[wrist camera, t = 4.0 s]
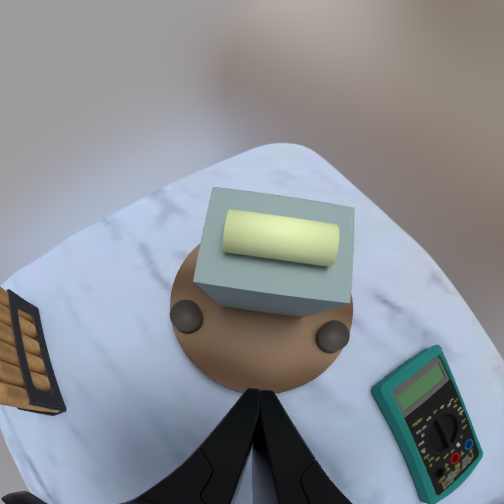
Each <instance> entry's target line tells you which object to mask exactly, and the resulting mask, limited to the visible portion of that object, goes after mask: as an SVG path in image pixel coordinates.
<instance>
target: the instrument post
mask: <svg viewBox="0 0 504 504" xmlns="http://www.w3.org/2000/svg"><path fill="white" fill-rule="evenodd" d="M353 250H354V208H353V207H347V206H342V205H336V204H331V203H325V202H319V201H313V200H306V199H300V198H294V197H287V196H280V195H273V194H266V193H258V192H251V191H243V190H234V189H226V188H217V187H213V188H212V193H211V197H210V201H209V206H208V210H207V215H206V220H205V224H204V229H203V234H202V239H201V243H200V248H199V253H198V258H197V263H196V269H195V274H194V279H193V282H194V283H195V284H196V285H197V286H198V287H200V288H201V289H202V290H203V291H204V292H205V293H206V294H208V295H209V296H210V297H211V298H212V299H213V300H214V301H216V302H217V303H218V304H219V305H220V306H224V307H231V308H237V309H244V310H251V311H258V312H265V313H273V314H280V315H288V316H296V317H307V316H310V315H313V314H317V313H320V312H323V311H327V310H330V309H333V308H336V307H340V306H343V305H346V304H349V303H350V299H351V286H352V271H353Z"/></svg>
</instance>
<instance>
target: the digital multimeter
mask: <svg viewBox="0 0 504 504" xmlns="http://www.w3.org/2000/svg"><path fill="white" fill-rule="evenodd" d="M372 394H373V396H374V398H375V400H376V402H377V403H378V405H379V407H380V409H381V411H382V413H383V414H384V416H385V418H386V420H387V422H388V424H389V425H390V427H391V429H392V431H393V433H394V435H395V437H396V440H397V442H398V444H399V446H400V448H401V450H402V452H403V454H404V457H405V459H406V461H407V464H408V467H409V469H410V472H411V474H412V477H413V480H414V482H415V485H416V488H417V491H418V495H419V498H420V501H422V502H424V503H427V504H436V503H437V502H439V501H440V500H442V499H443V498H445V497H447V496H448V495H449V494H451V493H452V492H453V491H454V490H456V489H457V488H458V487H459V486H460V485H461V484H462V483H463V482H464V481H465V480H466V479H467V478H468V476H469V475H470V474H471V473H472V471H473V470H474V469H475V467H476V466H477V464H478V463H479V461H480V460H481V458H482V456H483V452H482V449H481V446H480V444H479V441H478V439H477V436H476V434H475V431H474V428H473V426H472V423H471V420H470V418H469V415H468V413H467V410H466V407H465V405H464V402H463V400H462V397H461V395H460V392H459V390H458V387H457V385H456V383H455V380H454V377H453V375H452V372H451V370H450V368H449V365H448V363H447V360H446V358H445V356H444V354H443V351H442V349H441V347H440V346H439V345H434V346H432V347H430V348H428V349H425V350H424V351H422V352H421V353H419V354H417V355H416V356H414V357H413V358H411V359H410V360H408V361H407V362H405V363H404V364H402V365H401V366H400V367H398V368H397V369H395V370H394V371H393V372H391V373H390V374H389V375H388V376H386V377H385V378H384V379H382V380H381V381H380V382H379V383H377V384H376V385H375V386H374V387H373V388H372ZM449 411H450V412H449ZM407 425H408V426H407ZM408 427H409V428H408ZM411 434H412V435H411ZM412 436H413V437H412ZM414 441H415V442H414ZM415 443H416V444H415ZM417 448H418V449H417ZM418 450H419V451H418ZM434 452H435V453H434ZM420 455H421V456H420ZM421 457H422V458H421ZM423 462H424V463H423ZM425 467H426V468H425ZM429 477H430V478H429ZM431 482H432V483H431ZM433 487H434V488H433Z"/></svg>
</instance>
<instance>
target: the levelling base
mask: <svg viewBox="0 0 504 504" xmlns="http://www.w3.org/2000/svg"><path fill="white" fill-rule="evenodd" d="M199 248H200V244H199V245H198V246H197V247H196V248H195V249H194V250H193V251H192V252H191V253H190V254H189V255H188V256H187V258H186V259H185V261H184V262H183V264H182V265H181V267H180V269H179V271H178V273H177V275H176V278H175V281H174V284H173V288H172V293H171V303H170V310H171V311H170V319H171V322H172V324H173V328H174V331H175V334H176V337H177V339H178V342H179V343H180V345H181V347H182V349H183V350H184V352H185V353H186V355H187V356H188V357H189V359H190V360H191V361H192V362H193V363H194V364H195V365H196V366H197V367H198V368H199V369H200V370H201V371H202V372H203V373H204V374H205V375H207V376H208V377H209V378H211V379H212V380H214V381H215V382H217V383H219V384H220V385H222V386H224V387H226V388H229V389H232V390H235V391H238V392H242V393H244V392H245V391H246V390H247V389H248V388H255V389H260V391H261V390H272V391H274V393H280V392H285V391H288V390H291V389H294V388H297V387H299V386H302V385H304V384H306V383H308V382H310V381H311V380H313V379H315V378H316V377H318V376H319V375H320V374H322V373H323V372H324V371H325V370H326V369H327V368H328V367H329V366H330V365H331V364H332V363H333V362H334V361H335V359H336V358H337V357H338V355H339V354H340V353H341V351H342V349H343V348H344V347H345V346H346V345H347V343H348V341H349V337H350V334H349V333H350V329H351V324H352V317H353V303H352V295H351V299H350V303H349V304H346V305H343V306H340V307H336V308H333V309H330V310H327V311H323V312H320V313H317V314H313V315H310V316H307V317H296V316H288V315H280V314H273V313H265V312H258V311H251V310H244V309H237V308H231V307H224V306H220V305H219V304H218V303H217V302H216V301H214V300H213V299H212V298H211V297H210V296H209V295H208V294H206V293H205V292H204V291H203V290H202V289H201V288H200V287H198V286H197V285H196V284H195V283H194V282H193V279H194V274H195V269H196V263H197V258H198V253H199Z"/></svg>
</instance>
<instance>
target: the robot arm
mask: <svg viewBox="0 0 504 504" xmlns="http://www.w3.org/2000/svg"><path fill="white" fill-rule="evenodd" d="M251 447H252V483H253V504H352V503H351V502H350V501H349V500H348V499H347V498H346V497H345V496H344V495H343V493H342V492H341V491H340V490H339V489H338V488H337V487H336V486H335V485H334V483H333V482H332V481H331V480H330V479H329V477H328V476H327V475H326V473H325V472H324V470H323V469H322V468H321V466H320V465H319V463H318V461H317V460H315V457H314V456H313V454H312V452H311V451H310V449H309V448H308V446H307V445H306V443H305V442H304V440H303V438H302V437H301V435H300V434H299V432H298V430H297V429H296V427H295V426H294V424H293V422H292V421H291V419H290V418H289V416H288V414H287V413H286V411H285V409H284V408H283V406H282V404H281V403H280V401H279V399H278V398H277V396H276V394H275V393H274V391H272V390H261V391H260V389H255V388H248V389H247V390H246V391H245V392H244V393H243V395H242V396H241V397H240V398H239V400H238V401H237V402H236V403H235V405H234V406H233V407H232V408H231V410H230V411H229V412H228V413H227V414H226V416H225V417H224V418H223V419H222V420H221V422H220V423H219V424H218V425H217V426H216V427H215V429H214V430H213V431H212V432H211V433H210V434H209V436H208V437H207V438H206V439H205V440H204V441H203V442H202V444H201V445H200V446H199V448H197V449H196V450H195V451H194V452H193V453H192V455H191V456H190V457H189V458H188V459H187V460H186V461H185V462H184V463H183V464H182V465H180V466H179V467H178V468H177V469H176V470H174V471H173V472H172V473H171V474H169V475H168V476H167V477H165V478H164V479H163V480H161V481H160V482H159V483H157V484H156V485H154V486H153V487H152V488H150V489H149V490H147V491H146V492H144V493H143V494H141V495H140V496H138V497H136V498H134V499H132V500H130V501H127V502H124V503H120V504H235V501H236V498H237V495H238V492H239V488H240V485H241V482H242V479H243V475H244V472H245V469H246V465H247V462H248V459H249V455H250V451H251ZM2 500H3V501H4V502H5V503H6V504H47V503H46V502H44V501H42V500H41V499H39V498H38V497H36V496H35V495H33V494H31V493H30V492H27V491H20V492H14V493H11V494H7V495H6V496H4V497H2Z"/></svg>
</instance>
